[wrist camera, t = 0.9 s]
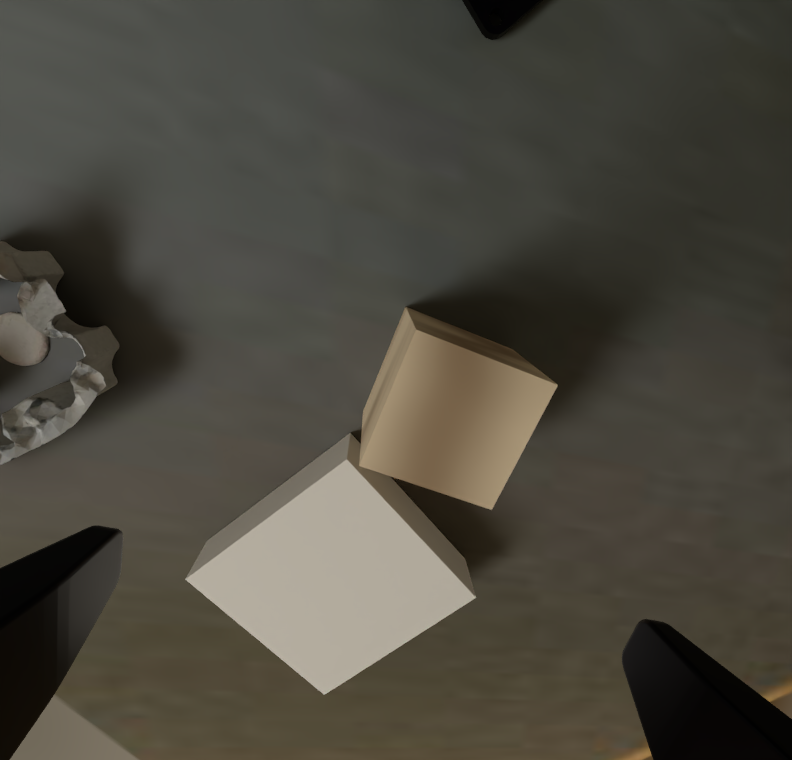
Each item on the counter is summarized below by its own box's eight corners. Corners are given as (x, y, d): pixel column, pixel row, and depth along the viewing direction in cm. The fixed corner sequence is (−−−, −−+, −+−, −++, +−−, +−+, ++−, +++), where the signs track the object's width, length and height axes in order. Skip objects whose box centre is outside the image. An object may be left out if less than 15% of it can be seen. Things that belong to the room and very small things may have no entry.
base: (350, 432, 20) (346, 459, 17) (465, 559, 22) (475, 597, 20) (206, 540, 21) (185, 579, 19) (329, 648, 23) (324, 695, 21)
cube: (511, 348, 19) (558, 384, 14) (464, 446, 20) (491, 509, 15) (405, 306, 18) (416, 329, 13) (363, 410, 19) (359, 466, 15)
